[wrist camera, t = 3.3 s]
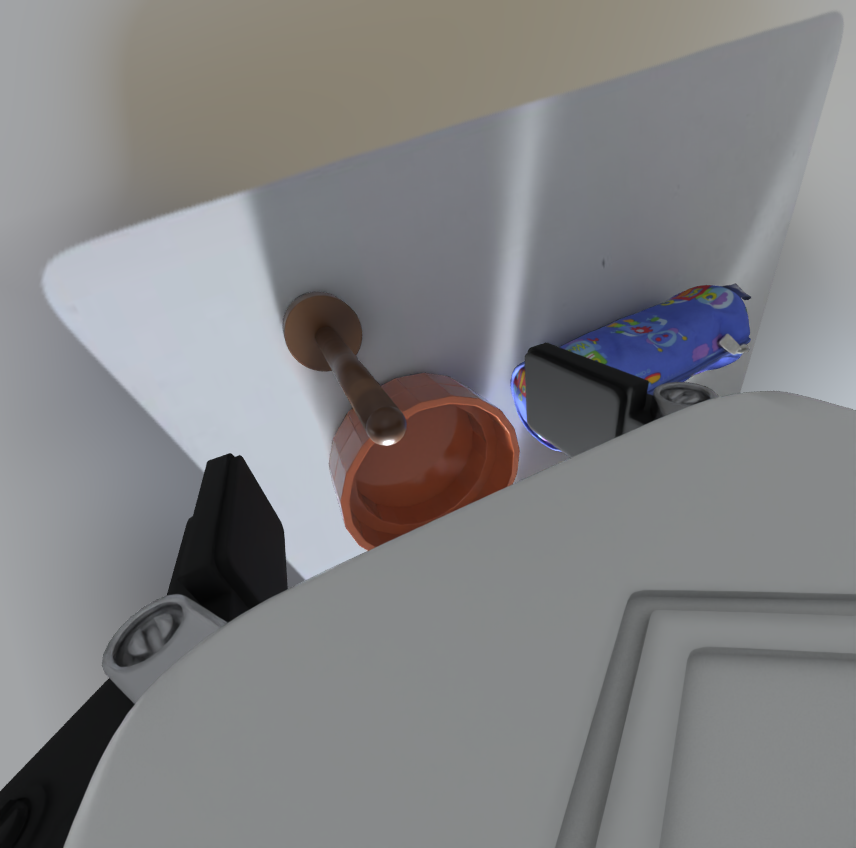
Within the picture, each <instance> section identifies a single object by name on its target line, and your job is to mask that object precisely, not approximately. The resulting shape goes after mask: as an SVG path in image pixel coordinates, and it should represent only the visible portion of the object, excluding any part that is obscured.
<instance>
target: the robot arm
mask: <svg viewBox="0 0 856 848" xmlns="http://www.w3.org/2000/svg"><path fill="white" fill-rule="evenodd" d="M525 385H526V415H527V423H528V426H529V427H530V429H531V430H533V431H534V432H535V433H537V434H538V435H540V436H541V437H542V438H544V439H545V440H547V441H548V442H549V443H551V444H552V445H553V446H555V447H556V448H558V449H559V450H560V451H562V452H563V453H564V454H566V455H567V456H569V457H570V459H567V460H565V461H563V462H561V463H558V464H556V465H554V466H552V467H550V468H547V469H545V470H543V471H541V472H539V473H536V474H534V475H532V476H530V477H528V478H525V479H523V480H521V481H519V482H517V483H514V484H512V485H510V486H508V487H506V488H503V489H501V490H499V491H497V492H495V493H493V494H490V495H488V496H486V497H484V498H482V499H479V500H477V501H475V502H473V503H471V504H469V505H466V506H464V507H462V508H460V509H458V510H455V511H453V512H451V513H449V514H447V515H445V516H442V517H440V518H438V519H436V520H434V521H431V522H429V523H427V524H425V525H423V526H421V527H419V528H416V529H414V530H412V531H410V532H408V533H406V534H403V535H401V536H399V537H397V538H395V539H393V540H390V541H388V542H386V543H384V544H382V545H380V546H378V547H375V548H373V549H371V550H369V551H367V552H365V553H362V554H360V555H358V556H356V557H354V558H352V559H349V560H347V561H345V562H343V563H341V564H339V565H336V566H334V567H332V568H330V569H328V570H326V571H323V572H321V573H319V574H317V575H315V576H313V577H311V578H309V579H307V580H305V581H303V582H302V583H299V584H297V585H295V586H293V587H291V588H289V589H288V588H287V572H286V554H285V538H284V529H283V526H282V523H281V521H280V519H279V518H278V516H277V514H276V513H275V511H274V509H273V508H272V506H271V504H270V502H269V501H268V499H267V497H266V496H265V494H264V492H263V491H262V489H261V487H260V486H259V484H258V482H257V480H256V479H255V477H254V475H253V474H252V472H251V470H250V469H249V467H248V465H247V464H246V462H245V460H244V459H243V457H242V456H240V455H239V456H236V457H234V456H233V455H232V454H231V453H229V454H226V455H223V456H221V457H218V458H215V459H212V460H209V461H208V462H207V465H206V469H205V472H204V476H203V480H202V484H201V488H200V491H199V495H198V499H197V503H196V507H195V510H194V514H193V517H191V518H189V520H188V522H187V525H186V528H185V532H184V535H183V539H182V543H181V546H180V550H179V553H178V557H177V561H176V564H175V568H174V571H173V575H172V579H171V582H170V586H169V590H168V593H167V596H165V597H162V598H160V599H157V600H155V601H153V602H151V603H150V604H148V605H146V606H144V607H143V608H141V609H140V610H139V611H138V612H137V613H135V614H134V615H133V616H131V617H130V618H129V619H128V620H127V621H126V622H125V623H124V624H123V625H122V626H121V627H120V628H119V630H118V631H117V632H116V633H115V635H114V636H113V638H112V639H111V640H110V642H109V644H108V646H107V648H106V650H105V652H104V654H103V661H102V667H103V670H104V672H105V674H106V675H107V676H108V677H109V679H108V680H107V681H106V682H105V683H104V684H103V685H102V686H101V687H100V688H99V689H98V690H97V691H96V692H95V693H94V694H93V695H92V696H91V697H90V699H89V700H88V701H87V702H86V703H85V704H84V705H83V706H82V707H81V708H80V709H79V710H78V711H77V712H76V713H75V714H74V715H73V716H72V717H71V718H70V720H68V721H67V722H66V723H65V724H64V726H63V727H62V728H61V729H60V730H59V731H58V732H57V733H56V734H55V735H54V736H53V737H52V738H51V739H50V740H49V741H48V742H47V743H46V744H45V745H44V746H43V747H42V749H40V750H39V752H38V753H37V754H36V755H35V756H34V757H33V758H32V759H31V760H30V761H29V762H28V763H27V764H26V765H25V766H24V767H23V768H22V769H21V770H20V771H19V772H18V773H17V774H16V776H14V777H13V779H12V780H11V781H10V782H9V783H8V784H7V785H6V786H5V787H4V788H3V789H2V790H1V791H0V848H856V410H853V409H850V408H846V407H842V406H839V405H835V404H831V403H828V402H825V401H821V400H817V399H813V398H810V397H806V396H802V395H798V394H793V393H788V392H780V391H760V392H746V393H738V394H732V395H727V396H722V397H719V396H718V395H717V394H716V393H715V392H714V391H713V390H712V389H710V388H708V387H706V386H702V385H699V384H695V383H689V382H670V383H665V384H661V385H659V386H657V387H656V388H655V389H654V391H653V395H650V394H648V393H647V390H648V385H649V381H648V380H645V379H643V378H640V377H637V376H635V375H632V374H629V373H627V372H624V371H621V370H619V369H616V368H613V367H611V366H608V365H605V364H603V363H600V362H597V361H595V360H592V359H589V358H587V357H584V356H581V355H579V354H576V353H573V352H571V351H568V350H565V349H563V348H560V347H557V346H555V345H552V344H549V343H543V344H540V345H537V346H534V347H531V348H530V349H529V350H528V353H527V354H526V355H525Z"/></svg>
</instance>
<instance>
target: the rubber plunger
mask: <svg viewBox="0 0 856 848" xmlns="http://www.w3.org/2000/svg"><path fill="white" fill-rule="evenodd" d="M283 333H284V338H285V341H286V344H287V347H288V349H289V351H290V353H291V354H292V356H293V357H294V358H295V359H296V360H297V361H298V362H299V363H301V364H302V365H304V366H306V367H308V368H310V369H313V370H317V371H333V373H334V375H335V376H336V378H337V380H338V382H339V384H340V386H341V387H342V389H343V391H344V393H345V395H346V396H347V398H348V400H349V402H350V404H351V406H352V407H353V409H354V411H355V413H356V415H357V416H358V418H359V420H360V422H361V424H362V425H363V427H364V429H365V431H366V433H367V435H368V436H369V437H370V439H371V440H372V441H374V442H375V443H377V444H379V445H384V446H388V445H393V444H395V443H397V442H398V441H400V440H401V439H402V437H403V436H404V434H405V431H406V426H407V424H406V419H405V416H404V415H403V413H402V412H401V410H400V409H399V408H398V407H397V406H396V404H395V403H394V402H393V401H392V399H391V398H390V397H389V396H388V395H387V393H386V392H385V391H384V390H383V389H382V387H381V386H380V385H379V384H378V382H377V381H376V380H375V379H374V378H373V376H372V375H371V374H370V373H369V371H368V370H367V369H366V368H365V367H364V365H363V364H362V363H361V362H360V361H359V359H358V358H357V357H356V354H357V353H358V351H359V349H360V346H361V342H362V328H361V324H360V321H359V319H358V317H357V315H356V313H355V312H354V311H353V310H352V308H351V307H350V306H348V305H347V304H346V303H345V302H343V301H342V300H341V299H339V298H338V297H336V296H334V295H332V294H329V293H325V292H310V293H306V294H303V295H301V296H299V297H298V298H296V299H295V300H294V301H293V302H292V303H291V304H290V305H289V307H288V308H287V310H286V312H285V315H284V318H283Z"/></svg>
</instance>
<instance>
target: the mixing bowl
mask: <svg viewBox="0 0 856 848" xmlns="http://www.w3.org/2000/svg"><path fill="white" fill-rule="evenodd" d="M381 387H382V389H383V390H384V391H385V392H386V393H387V395H388V396H389V397H390V398H391V399H392V401H393V402H394V403H395V404H396V406H397V407H398V408H399V409H400V410H401V412H402V413H403V415H404V416H405V419H406V424H407V426H406V431H405V434H404V436H403V437H402V439H401V440H400V441H398V442H397V443H395V444H393V445H388V446H384V445H379V444H377V443H375V442H374V441H372V440H371V439H370V437H369V436H368V435H367V433H366V431H365V429H364V427H363V425H362V424H361V422H360V420H359V418H358V416H357V415H356V413H355V411H354V409H353V408H352V409H351V410H350V411H349V412H348V414H347V415H346V416H345V418H344V420H343V422H342V424H341V425H340V427H339V429H338V431H337V433H336V434H335V436H334V438H333V442H332V448H331V453H330V459H329V468H330V473H331V478H332V482H333V487H334V490H335V494H336V497H337V500H338V504H339V507H340V511H341V514H342V517H343V521H344V524H345V527H346V529H347V530H348V531H349V533H350V534H351V535H352V537H353V538H354V539H355V541H356V542H357V543H358V545H359V546H361V547H363V548H364V549H366V550H368V551H369V550H371V549H373V548H375V547H378V546H380V545H382V544H384V543H386V542H388V541H390V540H393V539H395V538H397V537H399V536H401V535H403V534H406V533H408V532H410V531H412V530H414V529H416V528H419V527H421V526H423V525H425V524H427V523H429V522H431V521H434V520H436V519H438V518H440V517H442V516H445V515H447V514H449V513H451V512H453V511H455V510H458V509H460V508H462V507H464V506H466V505H469V504H471V503H473V502H475V501H477V500H479V499H482V498H484V497H486V496H488V495H490V494H493V493H495V492H497V491H499V490H501V489H503V488H506V487H508V486H510V485H512V484H513V482H514V480H515V477H516V475H517V470H518V461H519V452H520V450H519V445H518V441H517V437H516V433H515V429H514V427H513V426H512V424H511V423H510V422H509V420H508V419H507V418H506V416H505V415H504V414H503V412H502V411H501V410H500V409H498V408H497V407H496V406H494V405H493V404H491V403H490V402H489V401H487V400H486V399H484V398H483V397H481V396H480V395H479V394H477V393H476V392H474V391H473V390H472V389H470V388H469V387H467V386H465V385H464V384H462V383H460V382H458V381H456V380H455V379H453V378H451V377H449V376H443V375H436V374H430V373H420V374H415V375H409V376H404V377H398V378H395V379H393V380H391V381H389V382H387V383H385V384H383V385H382V386H381Z"/></svg>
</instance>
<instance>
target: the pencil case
mask: <svg viewBox="0 0 856 848" xmlns="http://www.w3.org/2000/svg"><path fill="white" fill-rule="evenodd" d="M741 298H742V299H743V300H749V299H751V297H750V296H749V295H748V294H746V293H745V292H744V291H743V290H742V289H741V288H740V287H739V286H738V285H737V284H733V285H727V286H713V285H703V286H697V287H693V288H690V289H688V290H686V291H684V292H681V293H679V294H677V295H675V296H673V297H671V298H670V299H669V300H667V301H666V302H664V303H661V304H659V305H656V306H653V307H650V308H648V309H645V310H643V311H641V312H638V313H636V314H633V315H630V316H627V317H624V318H622V319H619V320H617V321H615V322H613V323H611V324H609V325H607V326H604V327H602V328H599V329H597V330H595V331H592V332H589V333H587V334H585V335H583V336H581V337H579V338H577V339H574V340H572V341H571V342H569V343H567V344H565V345H562V346H561V347H560V348H563V349H565V350H568V351H571V352H573V353H576V354H579V355H581V356H584V357H587V358H589V359H592V360H595V361H597V362H600V363H603V364H605V365H608V366H611V367H613V368H616V369H619V370H621V371H624V372H627V373H629V374H632V375H635V376H637V377H640V378H643V379H645V380H648V381H649V385H648V390H647V393H648V394H650V395H653V391H654V389H655V388H656V387H657V386H659V385H661V384H665V383H670V382H685V381H686V380H687V379H689V378H690V377H692V376H693V375H696V374H699V373H702V372H704V371H706V370H713V369H718V368H721V367H724V366H726V365H729V364H731V363H733V362H735V361H736V360H737V359H739V358H740V356H741V355H742V354H743V353H746V352H748V351H749V350H750V349H749V346H748V345H747V344H748V343H749V342H750V340H751V339H750V338H749V335H750V327H749V320H748V314H747V309H746V307H745V304H744V302H743V300H742V299H741ZM511 390H512V395H513V398H514V402H515V406H516V410H517V412H518V415H519V417H520V419H521V421H522V423H523V424H524V426H525V427H526V428H527V430H528V431H529V432H530V433H531V434H532V435H533V436H534V437H535V438H536V439H537V440H538V441H539V442H541V443H542V444H544V445H545V446H547V447H548V448H550V449H553V450H556V451H560V450H559V449H558V448H556V447H555V446H553V445H552V444H551V443H549V442H548V441H547V440H545V439H544V438H542V437H541V436H540V435H538V434H537V433H535V432H534V431H533V430H531V429H530V427H529V426H528V423H527V415H526V385H525V361H524V362H522V363H521V364H519V365H518V366H517V367H516V368H515V369H514V371H513V373H512V378H511Z"/></svg>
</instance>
